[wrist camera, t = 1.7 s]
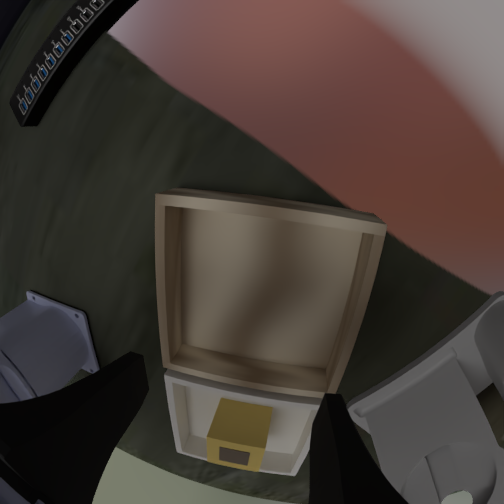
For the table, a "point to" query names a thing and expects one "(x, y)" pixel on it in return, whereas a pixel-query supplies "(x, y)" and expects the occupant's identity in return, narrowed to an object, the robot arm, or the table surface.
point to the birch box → (262, 288)
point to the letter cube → (238, 434)
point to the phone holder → (441, 415)
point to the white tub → (210, 392)
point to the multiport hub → (63, 55)
